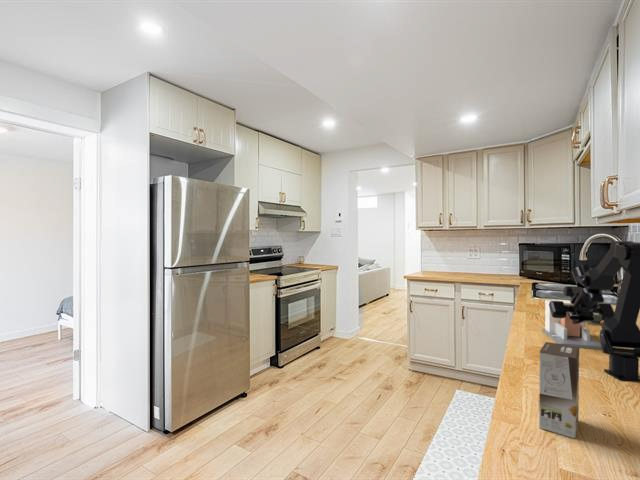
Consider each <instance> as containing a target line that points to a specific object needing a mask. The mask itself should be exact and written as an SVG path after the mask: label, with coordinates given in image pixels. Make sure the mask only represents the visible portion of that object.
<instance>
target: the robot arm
mask: <svg viewBox="0 0 640 480" xmlns="http://www.w3.org/2000/svg"><path fill="white" fill-rule="evenodd" d="M621 269H623V271H624V272H623V277H622V281H621V284H620V288H619V291H618V296H617V300H616V304H615V308H613V305H612V304H611V303H609V302H608V303H607V302H605V298H604V292H603V291H609V292H610V291H611V290H612V289H613V288H614V286H615V284H616V280H615V276H616V275H617V273H619V271H620V270H621ZM571 273H572V276H573V279H574V282H575V284H576V286H571V285H570V286H564V288H563V290H562V291H563V294H564V296H565V297H570V300H569V301H570V302H571V304H573V305H564V303H563V302H562V301H563V300H555V301H551V302H550V303H549V307H550V311H551V314H552V317H554V318H565V317H566V312H568V315H569V318H570V319H571V320H572V322H573V324H578V323H582V322H585V323H587V321H593V320H594V318H593V315H601V314H602V320H603V321H602V322H603V323H602V324H603V325H601V330H600V331H599V340H600V341H599V342H600V343H601V347H602V349H601V351H602V353H603V354H606V355H608V356H609V357H608V359H609V360H608V361H609V362H608V369H607V368H605V369H604V368H603V371H604V373H606V374H608V375H610V376H612V377H614V378H615V379H617V380H619V381H636V382H637V381H638V382H640V375H639V372H640V371H639V369H640V367H639V364H640V361H639V360H640V359H639V358H640V328H639V326H638V325H637V321H638V317H639V314H640V242H636V241H631V240H616V241H612V242H610V246H609V249H608V251H607V252H606V254H605V255H604V257H602V259H601V260H600V262H599V263H598V265H597V266H595V267H593V268H591V267H590V265H589V264H588V263H587V264H585V263H581V265H580V266H579V265H578V266H575V267H574V268H573V269H572V270H571ZM598 302H603V303H598ZM598 307H599V308H598Z"/></svg>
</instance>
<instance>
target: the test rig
mask: <svg viewBox="0 0 640 480" xmlns="http://www.w3.org/2000/svg"><path fill="white" fill-rule="evenodd" d="M551 301H556V300H554V299H553V300H552V299H551V300H550V299H545V303H544V304H545V305H544V306H545V307H544V309H545V311H544V313H545V314H544V315H545V316H544V318H545V320H544V322H545V323H544V328H541V331H542V332H543V334H545V335H546V336H547V337H549V338H550V339H551V340H552V341H553V342H555V343H558V344H564V345H570V346H575V347H579V349H580V348H581V349H594V350H602V347H601V341H599V340H597V339H596V338H594V337H592V336H591V330H590V329H588V328H586V322H582V323H580V337H577V336H567V329H566V328H565V327H563V326H562V325H561V318H554V317H552V314H551V311H550V307H549V303H550V302H551ZM561 301H562V302H563V303H564V305H573V304H571V302H570V300H561Z"/></svg>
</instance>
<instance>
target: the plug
mask: <svg viewBox="0 0 640 480" xmlns="http://www.w3.org/2000/svg"><path fill="white" fill-rule="evenodd" d="M561 325H562V326H563V327H565V328H566V329H567V336H577V337H580V323H578V324H573V322H572V320H571V319H570V318H569V315H568V312H566V317H565V318H561Z"/></svg>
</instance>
